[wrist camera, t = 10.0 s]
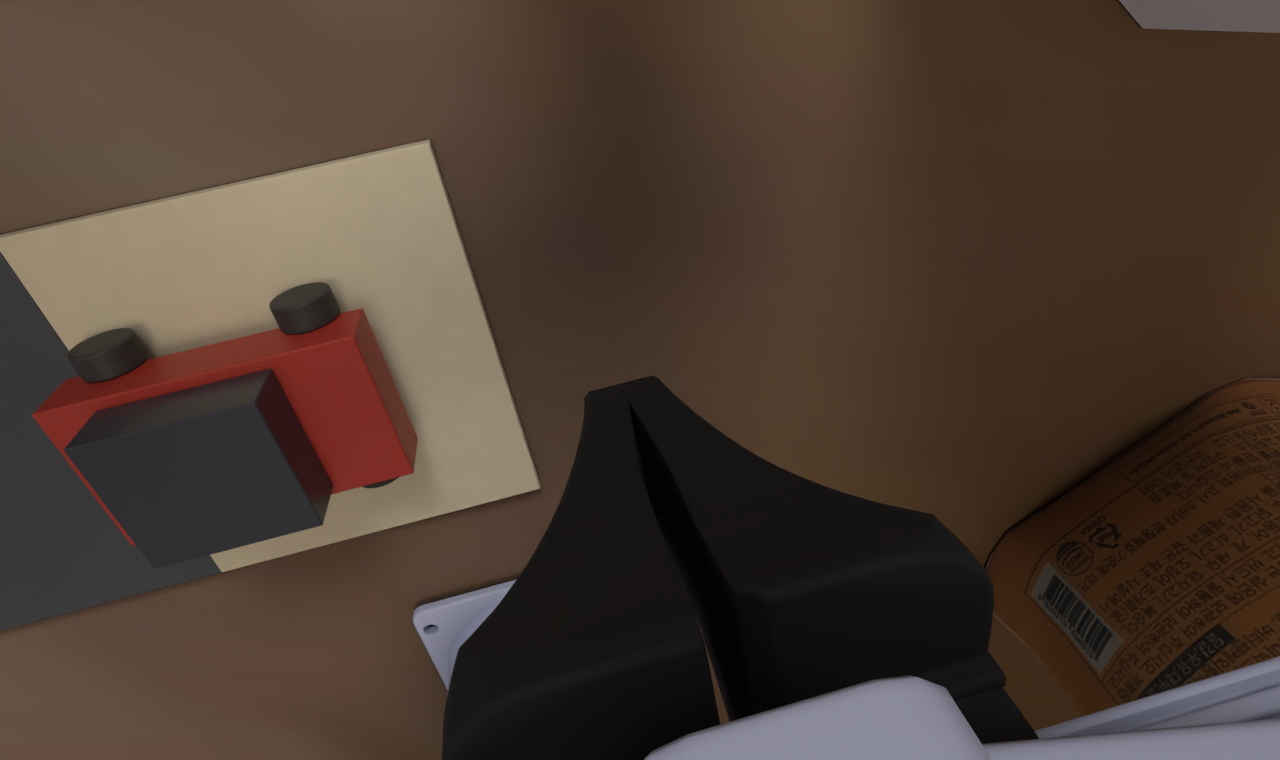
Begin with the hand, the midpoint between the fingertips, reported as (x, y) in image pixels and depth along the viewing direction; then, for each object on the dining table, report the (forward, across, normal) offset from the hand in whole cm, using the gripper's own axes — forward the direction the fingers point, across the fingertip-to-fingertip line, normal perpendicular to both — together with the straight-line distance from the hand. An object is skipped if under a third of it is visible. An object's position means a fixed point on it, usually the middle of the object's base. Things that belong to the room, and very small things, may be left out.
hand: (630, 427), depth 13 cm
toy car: (+9, +10, +2) cm, 14 cm away
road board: (+9, +15, +2) cm, 18 cm away
